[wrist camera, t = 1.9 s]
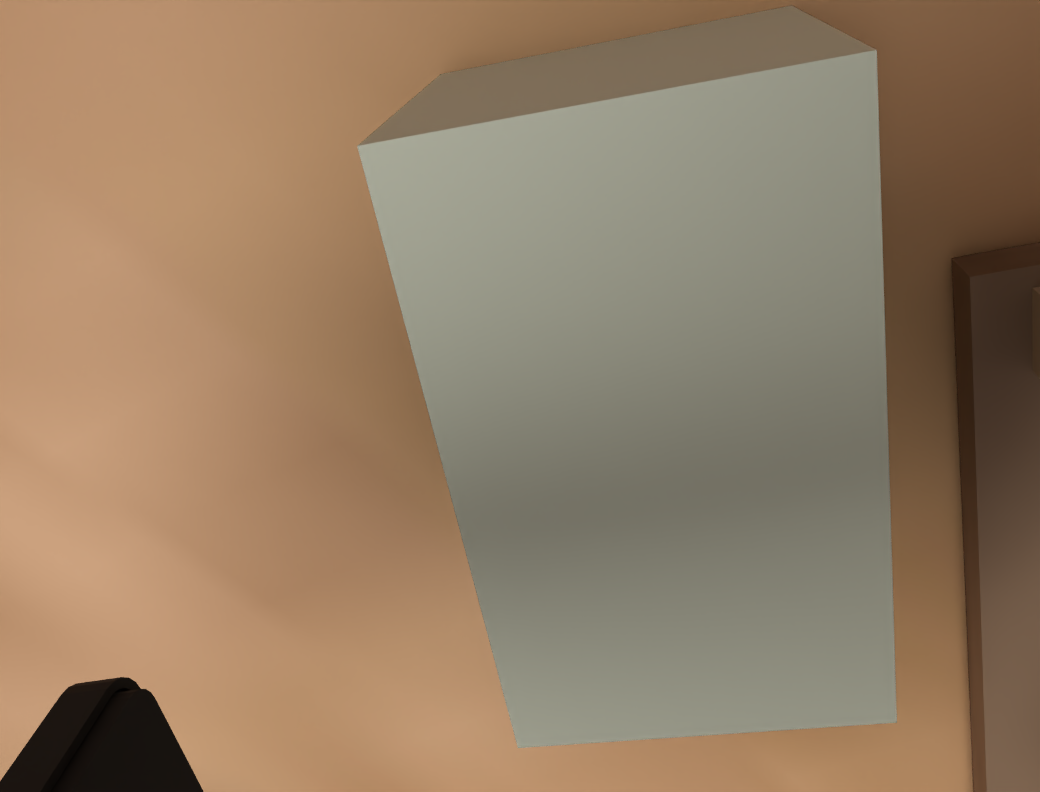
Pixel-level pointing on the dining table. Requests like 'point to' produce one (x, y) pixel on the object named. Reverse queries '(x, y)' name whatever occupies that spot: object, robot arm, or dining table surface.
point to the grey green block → (659, 372)
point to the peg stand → (1001, 508)
